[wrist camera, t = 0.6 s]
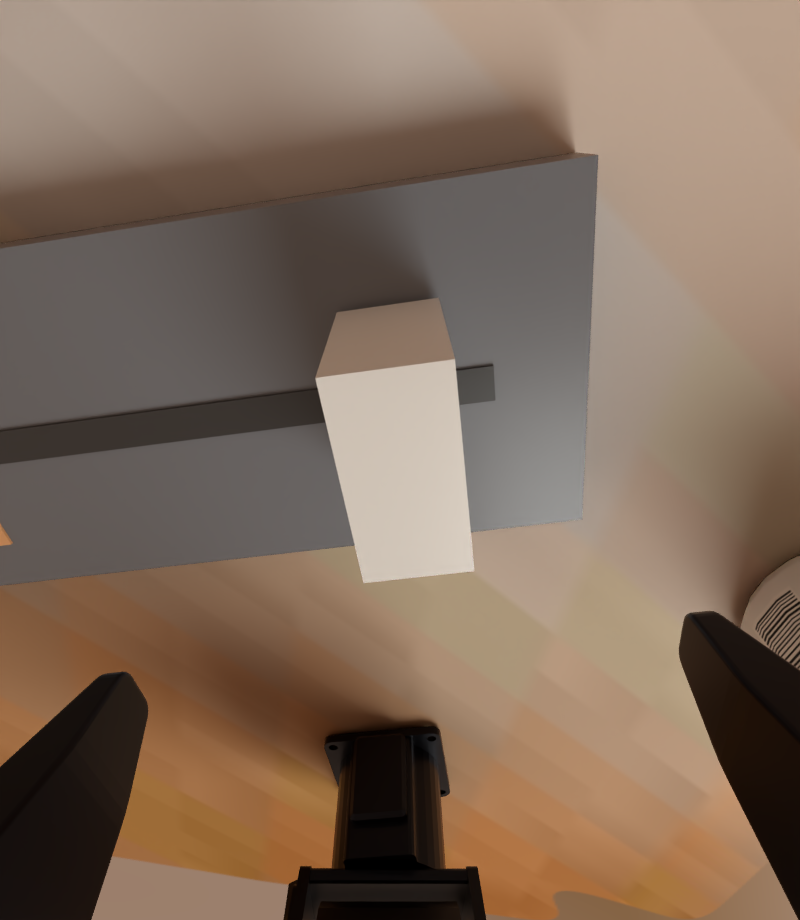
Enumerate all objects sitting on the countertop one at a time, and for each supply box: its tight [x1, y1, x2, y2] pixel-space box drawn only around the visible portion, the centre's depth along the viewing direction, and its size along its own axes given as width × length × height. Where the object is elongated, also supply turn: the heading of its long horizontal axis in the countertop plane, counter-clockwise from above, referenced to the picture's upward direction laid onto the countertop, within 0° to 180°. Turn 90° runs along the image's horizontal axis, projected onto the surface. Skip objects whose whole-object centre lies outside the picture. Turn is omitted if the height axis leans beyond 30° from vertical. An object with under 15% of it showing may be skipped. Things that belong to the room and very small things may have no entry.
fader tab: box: [315, 298, 474, 583], centre depth 15 cm, size 6×3×5 cm, turn 8°
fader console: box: [0, 153, 598, 586], centre depth 19 cm, size 12×30×2 cm, turn 98°
